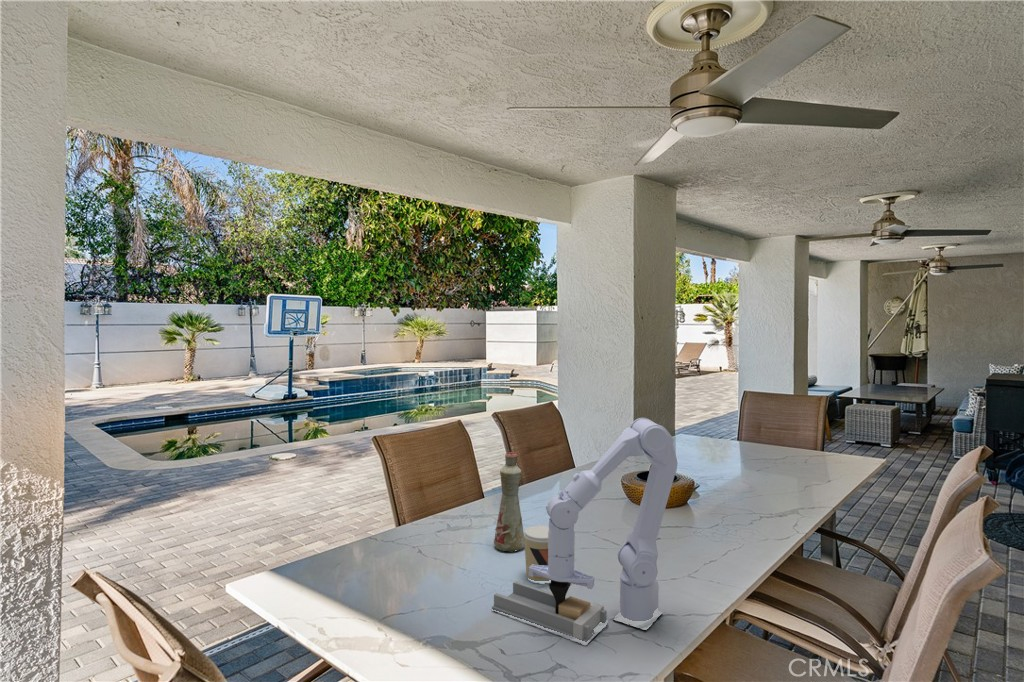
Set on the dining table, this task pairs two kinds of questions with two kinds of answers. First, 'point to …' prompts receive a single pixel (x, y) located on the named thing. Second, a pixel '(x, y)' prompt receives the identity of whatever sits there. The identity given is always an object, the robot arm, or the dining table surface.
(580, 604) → the keeper
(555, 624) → the channel
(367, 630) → the dining table surface
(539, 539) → the coffee cup
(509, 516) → the bottle
